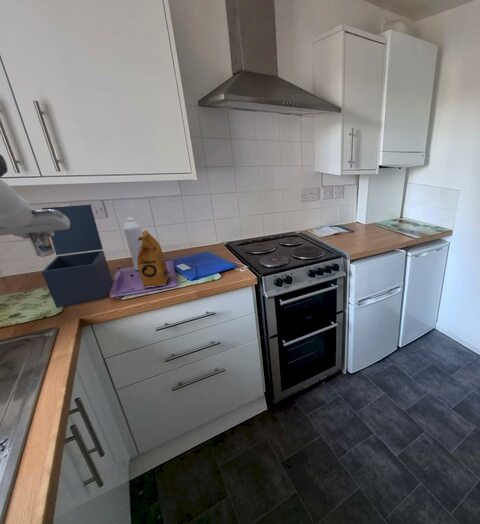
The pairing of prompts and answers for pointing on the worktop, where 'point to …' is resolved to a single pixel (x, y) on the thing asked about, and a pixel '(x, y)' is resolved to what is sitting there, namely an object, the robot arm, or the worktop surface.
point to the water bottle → (133, 238)
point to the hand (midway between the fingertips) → (39, 235)
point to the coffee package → (151, 262)
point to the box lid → (76, 231)
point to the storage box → (78, 278)
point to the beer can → (41, 244)
